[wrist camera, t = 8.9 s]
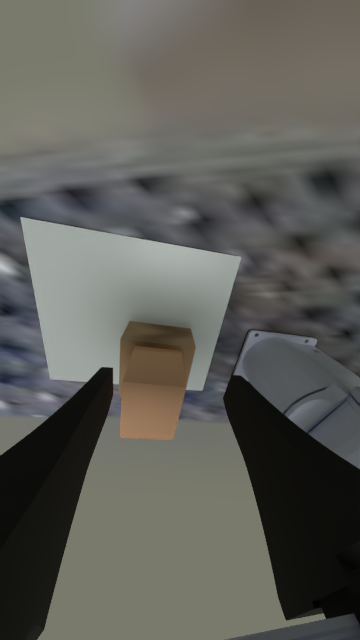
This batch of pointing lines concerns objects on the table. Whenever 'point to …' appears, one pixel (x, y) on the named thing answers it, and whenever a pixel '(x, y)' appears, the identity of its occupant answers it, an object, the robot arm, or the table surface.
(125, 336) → the walnut block
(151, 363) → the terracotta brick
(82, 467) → the robot arm
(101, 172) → the table surface
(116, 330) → the baseplate
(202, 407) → the table surface
